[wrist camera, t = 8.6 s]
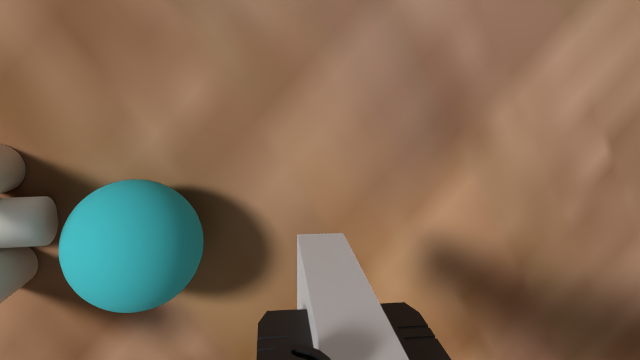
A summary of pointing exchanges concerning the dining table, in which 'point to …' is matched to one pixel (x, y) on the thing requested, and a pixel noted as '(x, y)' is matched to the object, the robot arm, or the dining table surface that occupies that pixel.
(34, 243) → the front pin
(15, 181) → the pin
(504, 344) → the dining table surface
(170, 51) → the dining table surface
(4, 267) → the pin
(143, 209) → the ball
